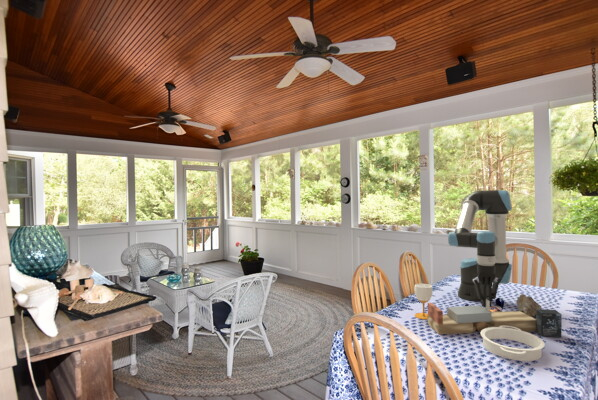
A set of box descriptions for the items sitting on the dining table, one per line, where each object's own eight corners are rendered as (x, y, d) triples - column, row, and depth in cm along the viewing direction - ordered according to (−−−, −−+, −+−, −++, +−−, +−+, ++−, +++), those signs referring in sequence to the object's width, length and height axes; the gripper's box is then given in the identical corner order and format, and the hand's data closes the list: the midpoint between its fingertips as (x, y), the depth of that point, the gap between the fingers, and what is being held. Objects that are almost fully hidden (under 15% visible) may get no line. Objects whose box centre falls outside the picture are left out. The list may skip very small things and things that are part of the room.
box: (541, 336, 150) (541, 312, 150) (535, 331, 155) (535, 308, 155) (562, 338, 148) (562, 313, 148) (555, 332, 154) (555, 309, 153)
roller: (468, 326, 166) (463, 317, 166) (477, 321, 166) (472, 312, 166) (480, 334, 156) (475, 325, 156) (489, 329, 156) (484, 319, 156)
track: (427, 323, 166) (427, 302, 166) (519, 321, 168) (519, 300, 168) (438, 334, 154) (438, 311, 154) (537, 331, 156) (537, 308, 156)
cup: (432, 314, 179) (432, 284, 179) (433, 320, 171) (433, 288, 170) (414, 312, 182) (414, 282, 182) (414, 318, 174) (414, 287, 173)
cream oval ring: (550, 372, 121) (550, 359, 121) (479, 358, 132) (479, 346, 132) (540, 341, 146) (540, 330, 146) (481, 331, 157) (481, 321, 157)
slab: (447, 315, 165) (446, 307, 165) (479, 313, 166) (479, 305, 166) (457, 323, 155) (457, 314, 155) (491, 321, 156) (491, 312, 156)
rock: (530, 323, 171) (545, 310, 168) (509, 305, 177) (524, 292, 174) (530, 320, 179) (545, 307, 176) (510, 302, 184) (524, 290, 181)
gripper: (477, 266, 156) (477, 317, 157) (504, 265, 157) (505, 316, 157) (468, 263, 164) (468, 311, 164) (494, 262, 164) (495, 310, 165)
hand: (486, 313), depth 161 cm, fingers closed
